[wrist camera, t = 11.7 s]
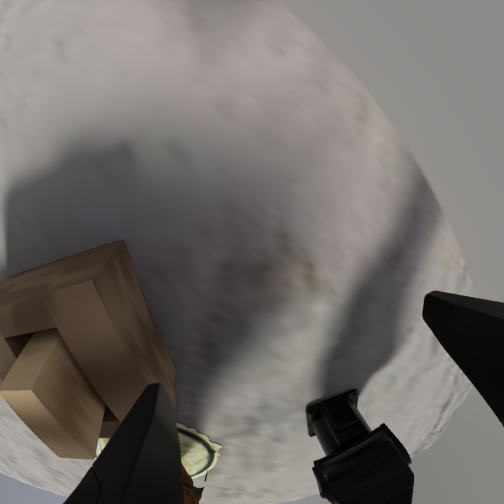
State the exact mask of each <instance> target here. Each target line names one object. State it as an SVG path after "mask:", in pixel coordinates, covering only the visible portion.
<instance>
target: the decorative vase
mask: <svg viewBox="0 0 504 504" xmlns="http://www.w3.org/2000/svg"><path fill="white" fill-rule="evenodd" d="M176 425H177V431H178V436H179V442H180V449H181V462H182V476H183V488H184V498H185V504H199V501H200V499H201V497H202V492H203V489H204V487H203V488H197V487H194V486H193V481H192V478H197V477H199V476H202V475H205V474H206V473H208V471H209V470H210V469H211V468H213V467H214V466H215V464H216V462H217V460H218V459H217V457H218V456H219V455H221V454H219V453H218V449H219V448H221V447H223V446H220V445H218V444H215V443H213V442H210V441H209V438H208V437H207V436H206V435H203V434H200V433H197V431H196V430H195V429H193V428H187V427H186V426H185V425H183V424H179V423H176ZM109 440H110V438H99V440H98V445H97V451H96V457H95V459H94V460H96V459H97V457H98V456H99V454H100V453H101V451H102V450H103V448H104V447H105V445H106V444H107V443H108V441H109ZM206 478H207V474H206V477H205V481H206Z"/></svg>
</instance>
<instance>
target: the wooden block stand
mask: <svg viewBox="0 0 504 504" xmlns="http://www.w3.org/2000/svg"><path fill="white" fill-rule="evenodd" d="M55 327H57V329H58V331H59V333H60V334H61V336H62V338H63V340H64V341H65V343H66V345H67V347H68V348H69V350H70V352H71V353H72V355H73V357H74V358H75V360H76V361H77V363H78V365H79V366H80V368H81V369H82V371H83V372H84V374H85V375H86V377H87V378H88V380H89V381H90V383H91V384H92V386H93V387H94V388H95V390H96V391H97V393H98V394H99V395H100V397H101V398H102V399H103V401H104V402H105V403H106V406H105V410H104V415H103V420H102V424H101V429H100V435H99V438H111V437H112V435H113V434H114V432H115V431H116V429H117V428H118V427H119V425H120V424H121V422H122V421H123V419H124V418H125V416H126V415H127V413H128V412H129V411H130V409H131V408H132V406H133V405H134V403H135V402H136V400H137V399H138V398H139V396H140V395H141V393H142V392H143V390H144V389H145V387H146V386H147V385H148V384H152V383H158V382H159V383H161V384H162V385H163V386H164V388H165V390H166V391H167V393H168V395H169V396H170V398H171V400H172V402H173V406H174V412H175V419H176V367H175V365H174V363H173V361H172V359H171V357H170V355H169V353H168V351H167V349H166V347H165V345H164V342H163V340H162V338H161V336H160V334H159V331H158V329H157V327H156V325H155V322H154V320H153V318H152V315H151V313H150V310H149V308H148V306H147V303H146V301H145V298H144V296H143V293H142V291H141V288H140V285H139V283H138V280H137V277H136V275H135V272H134V269H133V266H132V264H131V261H130V258H129V255H128V252H127V249H126V246H125V243H124V240H120V241H116V242H113V243H110V244H107V245H103V246H100V247H97V248H94V249H91V250H88V251H84V252H81V253H78V254H75V255H72V256H69V257H66V258H63V259H60V260H57V261H54V262H51V263H48V264H46V265H43V266H40V267H37V268H34V269H31V270H29V271H26V272H23V273H20V274H17V275H15V276H12V277H9V278H8V279H7V280H5V281H4V282H3V283H2V284H1V285H0V386H1V384H2V382H3V381H4V379H5V377H6V376H7V374H8V372H9V371H10V369H11V367H12V366H13V364H14V363H15V361H16V360H17V358H18V356H19V355H20V353H21V352H22V350H23V349H24V347H25V346H26V344H27V343H28V341H29V340H30V338H31V337H32V336H33V334H34V333H35V332H36V331H41V330H46V329H50V328H55Z"/></svg>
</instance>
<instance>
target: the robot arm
mask: <svg viewBox="0 0 504 504" xmlns="http://www.w3.org/2000/svg"><path fill="white" fill-rule="evenodd" d="M422 316H423V319H424V321H425V322H426V324H427V325H428V326H429V328H430V329H431V331H432V332H433V334H434V335H435V336H436V338H437V339H438V341H439V342H440V344H441V345H442V346H443V348H444V349H445V350H446V352H447V353H448V354H449V355H450V357H451V358H452V359H453V360H454V361H455V363H456V364H457V365H458V366H459V368H460V369H461V370H462V371H463V373H464V374H465V375H466V376H467V378H468V379H469V380H470V381H471V383H472V384H473V385H474V386H475V388H476V389H477V390H478V392H479V393H480V394H481V395H482V397H483V398H484V400H485V401H486V402H487V404H488V405H489V406H490V408H491V409H492V410H493V412H494V413H495V415H496V416H497V418H498V419H499V421H500V422H501V423H502V425H503V427H504V303H502V302H497V301H491V300H485V299H480V298H474V297H468V296H463V295H457V294H451V293H446V292H440V291H432V292H430V293H428V294H426V295H425V297H424V304H423V312H422ZM357 403H358V391H357V389H353V390H351V391H349V392H346V393H344V394H342V395H339V396H337V397H334V398H332V399H329V400H327V401H324V402H322V403H319V404H316V405H314V406H311V407H308V408H307V409H306V419H307V427H308V434H309V436H310V437H313V436H317V438H318V440H319V442H320V444H321V446H322V448H323V450H324V452H325V454H326V456H325V457H323V458H321V459H319V460H315V461H313V462H314V465H315V466H314V467H313V468H312V470H313V472H314V474H315V477H316V479H317V483H318V488H319V492H320V495H321V497H322V498H325V499H328V501H329V502H331V503H332V504H412V496H413V485H414V474H413V472H412V470H411V469H410V467H409V466H408V465H410V464H411V463H412V461H411V458H410V456H409V454H408V452H407V451H406V449H405V447H404V446H403V445H402V443H401V442H400V441H399V440H398V439H397V437H396V436H395V435H394V434H393V433H392V432H391V430H390V429H389V428H388V427H387V426H386V425H385V423H383V424H381V425H380V426H379V427H378V428H376V429H375V430H373V431H372V430H371V429H370V427H369V426H368V424H367V423H366V421H365V420H364V418H363V417H362V415H361V414H360V412H359V411H358V409H357ZM92 466H93V467H90V469H89V470H88V472H87V473H86V475H85V476H84V478H83V479H82V480H81V482H80V483H79V485H78V486H77V487H76V489H75V490H74V491H73V492H72V493H71V495H70V496H69V497H68V498H67V500H66V501H65V502H64V503H63V504H185V498H184V488H183V476H182V462H181V449H180V442H179V436H178V431H177V425H176V419H175V412H174V406H173V402H172V400H171V398H170V396H169V395H168V393H167V391H166V390H165V388H164V386H163V385H162V384H161V383H159V382H158V383H152V384H148V385H147V386H146V387H145V389H144V390H143V392H142V393H141V395H140V396H139V398H138V399H137V400H136V402H135V403H134V405H133V406H132V408H131V409H130V411H129V412H128V413H127V415H126V416H125V418H124V419H123V421H122V422H121V424H120V425H119V427H118V428H117V429H116V431H115V432H114V434H113V435H112V437H111V438H110V440H109V441H108V443H107V444H106V445H105V447H104V448H103V450H102V451H101V453H100V454H99V456H98V457H97V459H96V460H95V462H94V463H93V465H92Z"/></svg>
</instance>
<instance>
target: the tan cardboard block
mask: <svg viewBox="0 0 504 504" xmlns="http://www.w3.org/2000/svg"><path fill="white" fill-rule="evenodd" d="M0 394H1V396H2V397H3V398H4V399H5V401H6V402H7V403H8V404H9V406H10V407H11V408H12V409H13V410H14V412H15V413H16V414H17V415H18V416H19V417H20V419H21V420H22V421H23V422H24V423H25V424H26V425H27V426H28V427H29V428H30V429H31V430H32V431H33V433H34V434H35V435H36V436H37V437H38V438H39V439H40V440H41V441H42V442H43V443H44V444H46V445H47V446H48V447H49V448H50V449H51V450H52V451H53V452H54V453H55V454H56V455H57V456H58V457H62V458H76V459H95V457H96V451H97V445H98V440H99V435H100V429H101V424H102V420H103V415H104V410H105V406H106V403H105V402H104V401H103V399H102V398H101V397H100V395H99V394H98V393H97V391H96V390H95V388H94V387H93V386H92V384H91V383H90V381H89V380H88V378H87V377H86V375H85V374H84V372H83V371H82V369H81V368H80V366H79V365H78V363H77V361H76V360H75V358H74V357H73V355H72V353H71V352H70V350H69V348H68V347H67V345H66V343H65V341H64V340H63V338H62V336H61V334H60V333H59V331H58V329H57V327H55V328H50V329H46V330H41V331H36V332H35V333H34V334H33V336H32V337H31V338H30V340H29V341H28V343H27V344H26V346H25V347H24V349H23V350H22V352H21V353H20V355H19V356H18V358H17V360H16V361H15V363H14V364H13V366H12V367H11V369H10V371H9V372H8V374H7V376H6V377H5V379H4V381H3V382H2V384H1V386H0Z"/></svg>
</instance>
